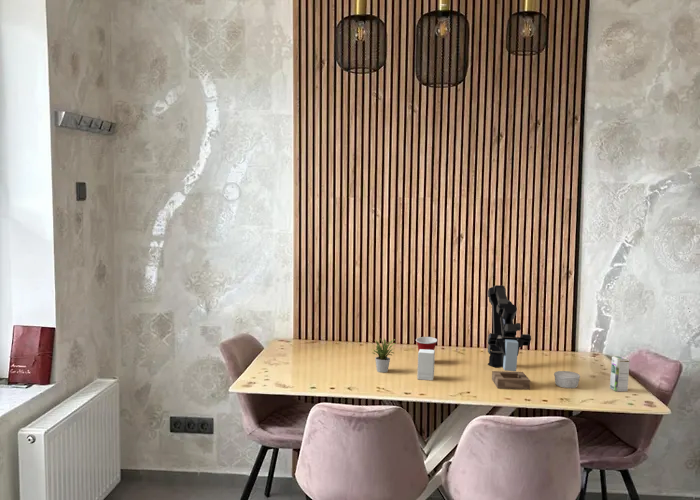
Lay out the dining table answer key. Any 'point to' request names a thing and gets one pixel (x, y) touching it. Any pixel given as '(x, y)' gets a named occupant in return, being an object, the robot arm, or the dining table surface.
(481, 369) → the dining table surface
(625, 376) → the syrup box
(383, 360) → the house plant
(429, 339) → the plastic cup
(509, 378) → the walnut socket block
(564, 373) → the ramekin
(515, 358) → the slate blue peg
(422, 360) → the supplement box
